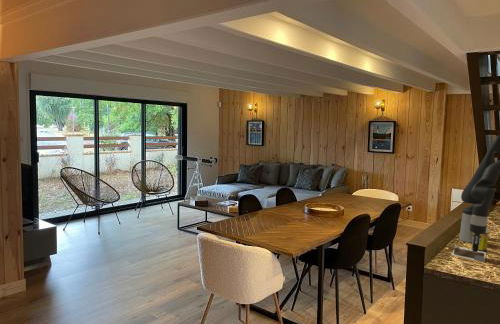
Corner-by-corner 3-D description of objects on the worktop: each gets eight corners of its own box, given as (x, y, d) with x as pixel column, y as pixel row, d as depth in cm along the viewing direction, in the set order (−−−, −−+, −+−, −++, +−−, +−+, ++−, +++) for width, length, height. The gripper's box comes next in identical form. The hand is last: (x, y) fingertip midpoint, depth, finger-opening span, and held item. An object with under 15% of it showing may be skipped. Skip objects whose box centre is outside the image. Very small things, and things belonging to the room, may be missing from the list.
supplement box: (482, 251, 213) (484, 233, 212) (471, 248, 218) (473, 230, 217) (486, 250, 217) (489, 232, 216) (475, 247, 222) (478, 229, 221)
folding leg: (453, 254, 200) (454, 247, 199) (453, 252, 202) (454, 246, 202) (483, 259, 193) (484, 253, 193) (483, 258, 195) (484, 252, 195)
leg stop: (474, 258, 194) (475, 254, 194) (483, 260, 192) (484, 256, 192) (474, 259, 193) (474, 255, 192) (483, 261, 190) (483, 257, 190)
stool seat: (455, 248, 216) (455, 246, 215) (485, 255, 207) (485, 252, 207) (451, 257, 198) (451, 255, 198) (484, 265, 190) (484, 262, 190)
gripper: (486, 227, 190) (482, 260, 192) (486, 222, 201) (482, 253, 203) (469, 224, 194) (465, 256, 196) (470, 220, 205) (466, 250, 207)
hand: (474, 255), depth 199 cm, fingers closed
